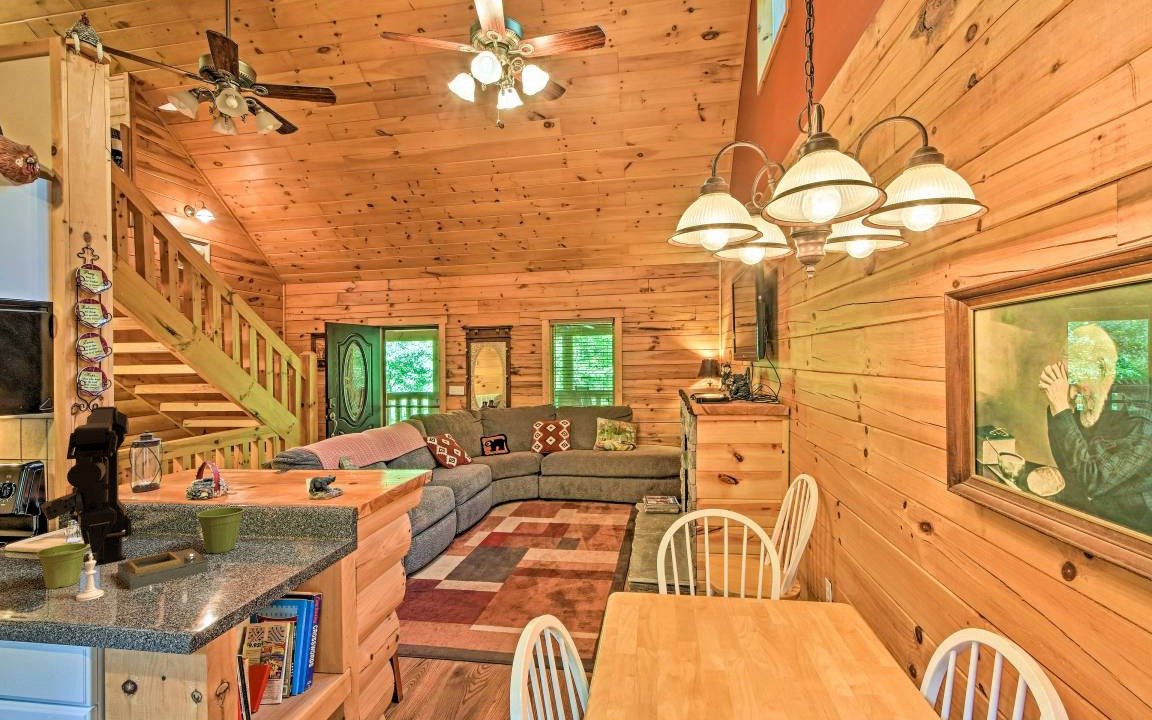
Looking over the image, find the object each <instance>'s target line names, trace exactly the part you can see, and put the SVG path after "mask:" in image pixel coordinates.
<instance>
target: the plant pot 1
mask: <svg viewBox="0 0 1152 720" xmlns="http://www.w3.org/2000/svg"><path fill="white" fill-rule="evenodd" d="M89 547H90V544H87V545H85V544H84V542H83V543H82V542H75V543H74V542H73V543H64V544H58V545H54V546H50V547H47V548H44V549H41V550H39V551H37V552H36V556H37V557H38V559H39V561H40V563H41V569H42V575H43V582H44V587H45V588H46V589H51V590H54V589H55V590H56V589H58V588H60V587H61V588H63V587H64V588H65V587H71V586H73V585H76V584H77V583H79V582H80V580H81V579H80V578H81V574H82V573H81V572H82V567H83V562H84V559H85V558H84V557H85V554H86V553H87V549H88V548H89Z"/></svg>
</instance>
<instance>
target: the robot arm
mask: <svg viewBox="0 0 1152 720" xmlns="http://www.w3.org/2000/svg"><path fill="white" fill-rule="evenodd" d="M90 412H91V413H90V414H89V415H88V416H87V418H86V423H85V424H82V425H79V426H77V427H75V429H74V430H73V432H70V435H69V439H68V448H67V453H66V460H75V464H74V465H73V466H72V467H70V469H69V470H68V472H67V474H66V479H67V482H68V484H69V485H70V486H72V488H71V493H68V494H65V495H62V496H60V497H57V498H55V499H52V500H49V501H47V502H44V503H43V504H40V508H41V510H42V512H43V513H44V516H45V517H46V519H47V520H48V521H52V520H55V519H57V518H58V517H59V516H62V515H64V514H68V516H69V517H70V518H71V519H72V520H74V521H75V522H77V523H78V527H79V530H80V533H81V537H82V541H83V543H84V544H85V545H87V544H88V545H89V547H90V551H91V552H90V553H92V554H95V557H93V559H92V560H95V561H96V564H95V566H97V565H104V564H109V563H114V562H119V561H123V560H126V559H127V556H126V555H125V554H124V553H123V550H124V548H123V547H124V545H123V544H124V543H123V540H124V538H127V537H129V536H132V535H133V525H132V524H133V523H132V519H131V518H130V516H129V514H126V513H127V510H126V509H127V508H126V506H125V504H123V503H122V502H121V501H120V499H119V448H121V446H122V445H123V443H124V442H125V440H126V437H127V435H129V431H130V430H129V429H130V422H129V418H128V417H129V416H128V415H127V414H126V413H123V412H121V411H119V410H118V407H117V406H114V405H113V406H95V407H92V409H91V411H90Z"/></svg>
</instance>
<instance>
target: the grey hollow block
mask: <svg viewBox="0 0 1152 720" xmlns="http://www.w3.org/2000/svg"><path fill="white" fill-rule="evenodd" d="M208 559H209V558H208ZM208 559H207V557H205V556H204V555H203V554H201V553H199V552H198V551H196V550H195V549H193V548H188V549H183V550H182V549H181V550H178V551H173V552H172V551H168V552H161V553H158V554H152V555H149V556H144V557H138V558H133V559H128V560H126V561H125V562H121V563H118V564H117V577H118V578H119V579H120V580H121V581H122V582H123V583H124V585H125V586H126V587H127V588H128V589H129V590H136V589H140V588H143V587H144V588H145V587H148V586H152V585H157V584H160V583H164V582H168V581H172V580H176V579H181V578H182V579H183V578H184V577H189V576H194V575H198V574H202V573H205V572H209V560H208Z"/></svg>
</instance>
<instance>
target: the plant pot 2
mask: <svg viewBox="0 0 1152 720" xmlns="http://www.w3.org/2000/svg"><path fill="white" fill-rule="evenodd" d="M245 510H246V508H244V507H239V506H238V507H237V506H232V507H231V506H229V507H228V506H227V507H217V508H211V509H207V510H203V511H199V512H198V513H197V514H196V516H197V517H198V520H199V523H200V525H201V532H202V538H203V542H204V549H205V552H206V553H207V554H211V553H212V554H221V553H227V552H229V551H231V550H234V549H235V548H236V545H237V541H238V534H239V529H240V525H241V520H242V518H243V517H242V516H243V513H244V512H245Z"/></svg>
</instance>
